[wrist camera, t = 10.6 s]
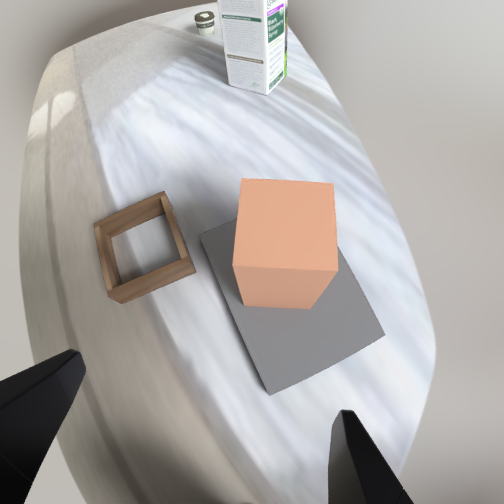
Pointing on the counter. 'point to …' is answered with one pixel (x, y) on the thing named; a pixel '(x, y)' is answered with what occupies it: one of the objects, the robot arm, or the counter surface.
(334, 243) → the terracotta block
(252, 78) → the syrup box
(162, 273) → the walnut holder
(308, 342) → the slate board
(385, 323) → the counter surface
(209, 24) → the coffee cup
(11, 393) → the robot arm
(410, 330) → the counter surface
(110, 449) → the counter surface
